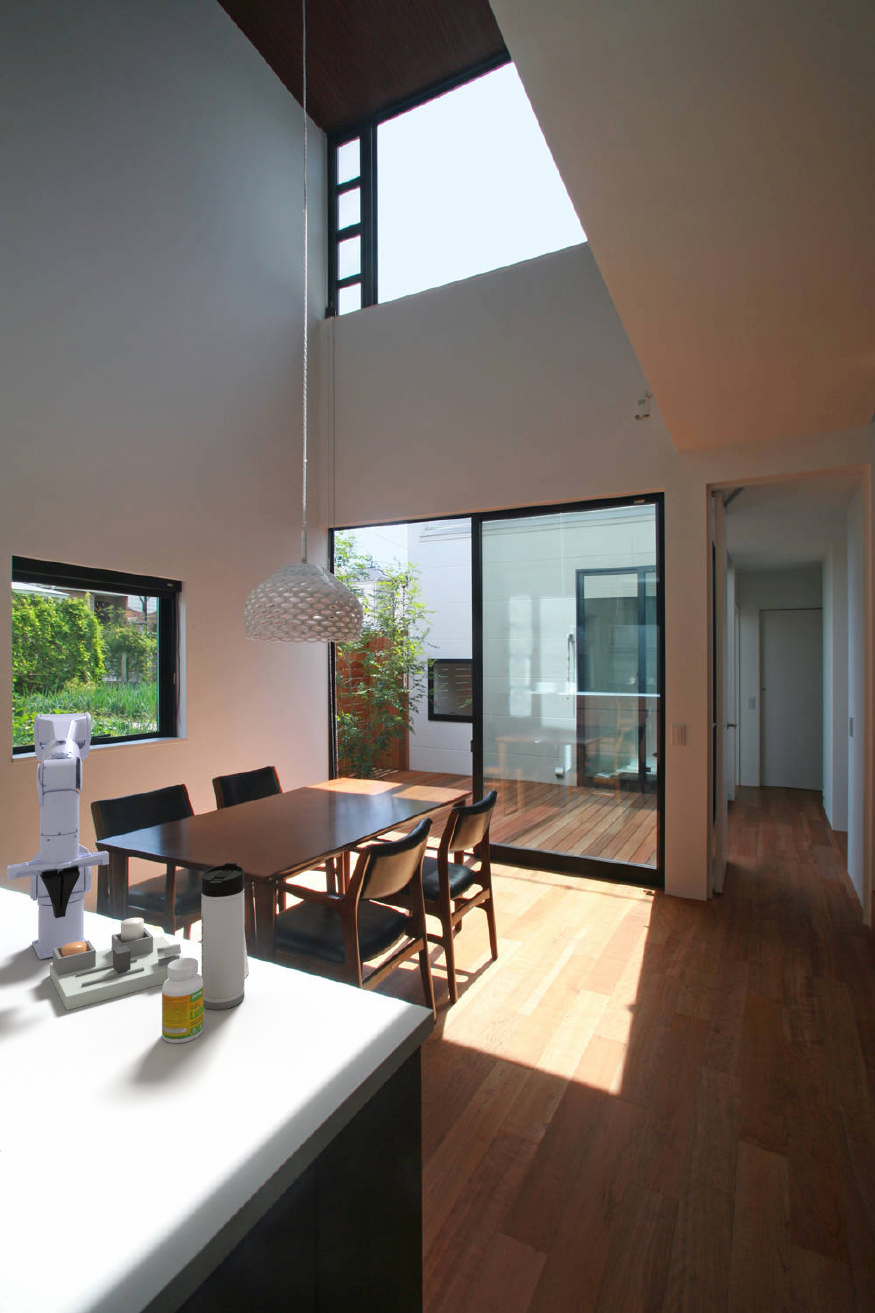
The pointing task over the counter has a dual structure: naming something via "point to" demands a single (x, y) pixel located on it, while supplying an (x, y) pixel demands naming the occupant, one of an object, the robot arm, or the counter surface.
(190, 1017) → the supplement bottle
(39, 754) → the robot arm
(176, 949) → the rocker
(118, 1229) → the counter surface
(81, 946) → the button orange
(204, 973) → the travel mug
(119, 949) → the slider knob
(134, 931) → the button white
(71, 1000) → the panel
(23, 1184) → the counter surface
